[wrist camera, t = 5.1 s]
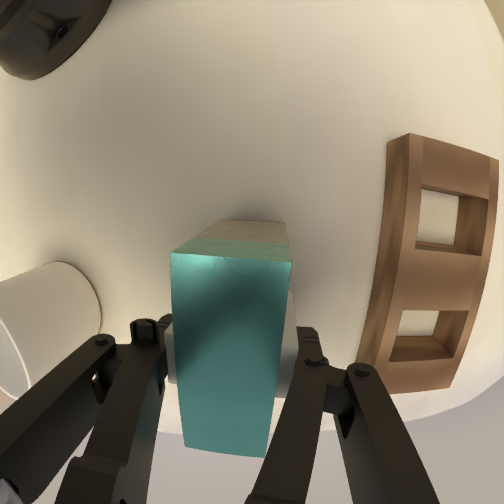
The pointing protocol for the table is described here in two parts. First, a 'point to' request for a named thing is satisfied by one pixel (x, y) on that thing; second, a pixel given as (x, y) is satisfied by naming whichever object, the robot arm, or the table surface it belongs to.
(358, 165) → the table surface
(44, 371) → the mug
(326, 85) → the table surface
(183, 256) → the tall teal block
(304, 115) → the table surface
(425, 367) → the brown wooden frame
